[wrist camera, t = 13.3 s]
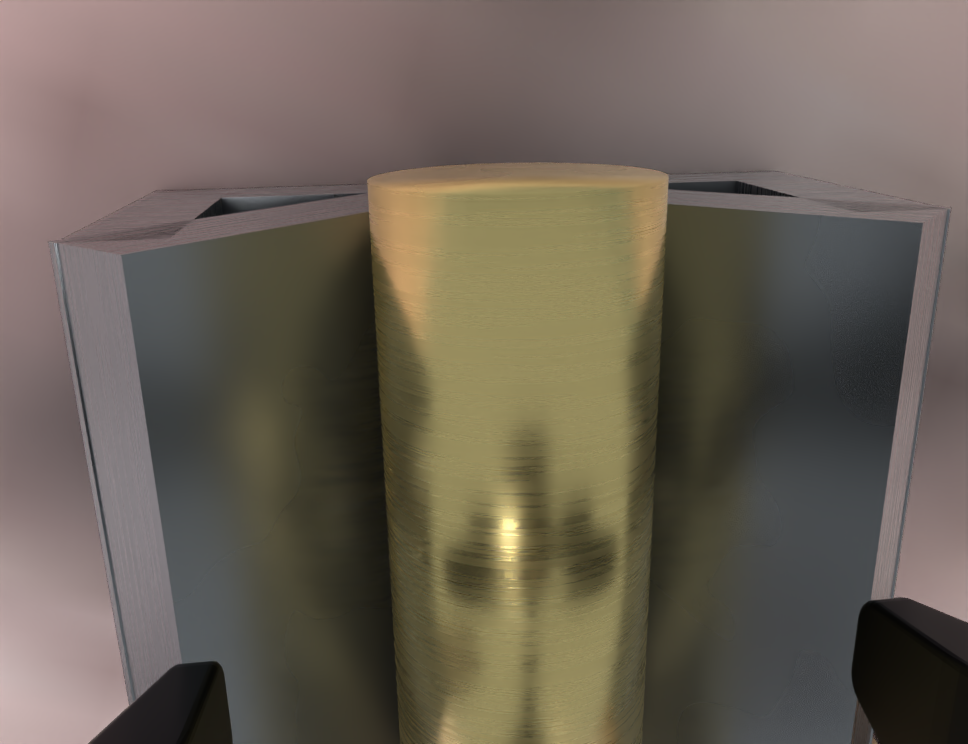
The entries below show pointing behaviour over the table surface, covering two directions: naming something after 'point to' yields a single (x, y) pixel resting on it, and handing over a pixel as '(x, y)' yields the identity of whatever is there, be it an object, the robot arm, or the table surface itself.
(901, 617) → the robot arm
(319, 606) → the v block
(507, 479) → the axle
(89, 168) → the table surface
